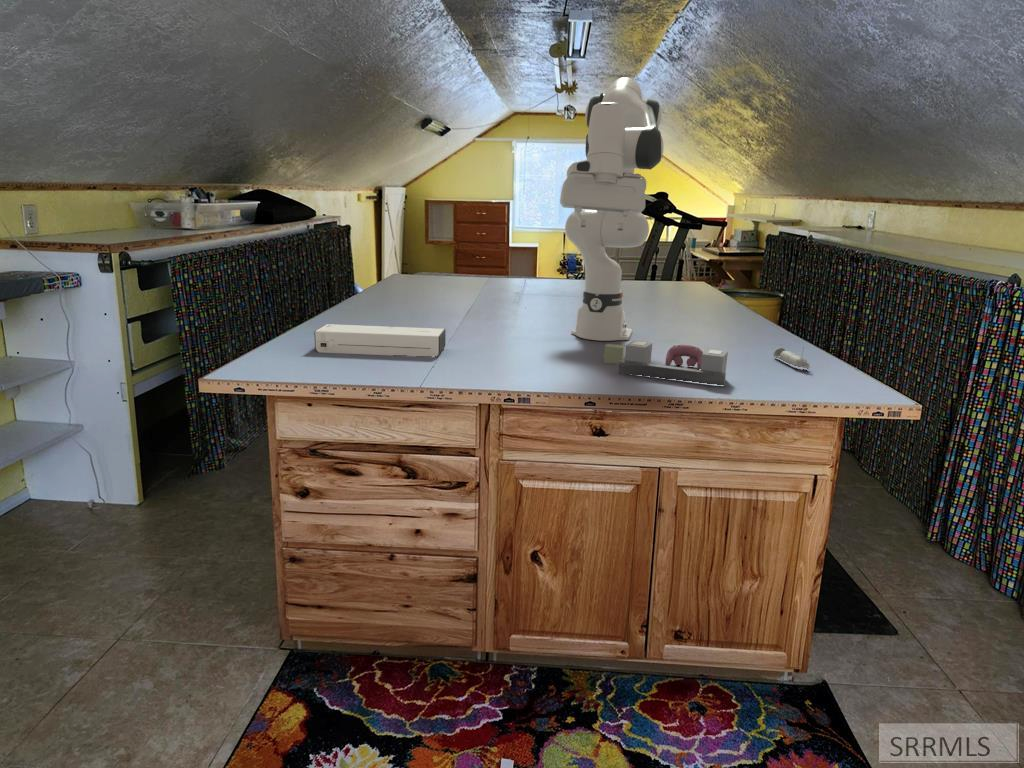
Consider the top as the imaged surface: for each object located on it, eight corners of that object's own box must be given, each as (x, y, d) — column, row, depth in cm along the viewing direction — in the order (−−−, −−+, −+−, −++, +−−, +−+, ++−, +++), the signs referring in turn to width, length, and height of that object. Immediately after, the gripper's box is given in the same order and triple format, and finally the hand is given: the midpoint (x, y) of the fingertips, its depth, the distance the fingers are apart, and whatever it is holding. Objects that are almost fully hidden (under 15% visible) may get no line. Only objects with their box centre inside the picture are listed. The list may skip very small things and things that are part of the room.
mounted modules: (631, 367, 192) (633, 339, 190) (724, 379, 183) (727, 350, 181) (623, 373, 186) (626, 344, 184) (720, 385, 177) (723, 355, 175)
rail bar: (620, 372, 187) (620, 359, 186) (724, 386, 176) (725, 373, 175) (617, 374, 184) (618, 361, 184) (722, 388, 174) (724, 375, 173)
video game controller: (702, 374, 195) (705, 348, 196) (702, 369, 190) (705, 344, 192) (665, 370, 198) (668, 345, 199) (663, 365, 193) (667, 340, 195)
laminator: (445, 350, 208) (445, 328, 206) (438, 359, 196) (438, 337, 194) (327, 345, 209) (326, 323, 208) (313, 354, 198) (312, 331, 196)
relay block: (605, 359, 201) (606, 343, 199) (623, 361, 199) (624, 345, 198) (603, 363, 197) (604, 346, 196) (622, 364, 196) (623, 348, 194)
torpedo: (768, 358, 209) (771, 336, 207) (784, 359, 209) (787, 336, 208) (799, 374, 191) (802, 350, 190) (816, 374, 192) (819, 350, 190)
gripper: (642, 178, 178) (639, 234, 178) (560, 170, 176) (557, 228, 176) (650, 171, 172) (647, 229, 172) (565, 163, 170) (562, 222, 170)
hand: (601, 228), depth 174 cm, fingers open, 8 cm apart
